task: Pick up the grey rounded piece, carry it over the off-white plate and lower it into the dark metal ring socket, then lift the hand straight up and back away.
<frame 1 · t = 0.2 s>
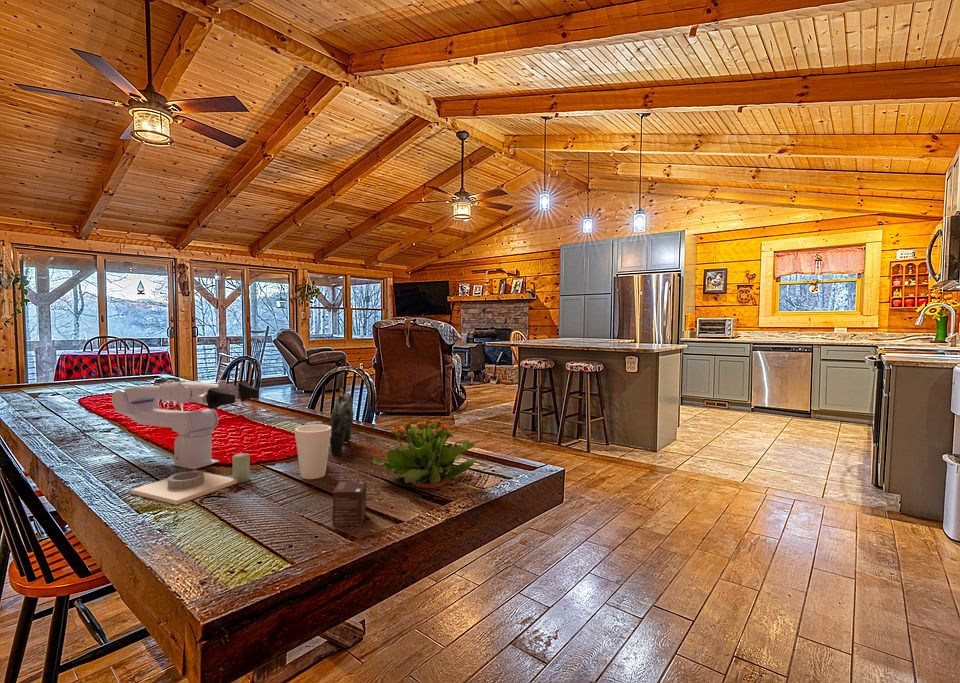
hand: (246, 396, 126), 21 cm above the table, tool horizontal, fingers open, 7 cm apart
grey rounded piece: (241, 480, 122), on the table
energy drink: (313, 463, 138), on the table
socket plate: (186, 488, 115), on the table
foam cup: (312, 475, 127), on the table
box: (349, 521, 99), on the table
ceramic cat: (342, 448, 155), on the table
potted flower: (432, 483, 123), on the table
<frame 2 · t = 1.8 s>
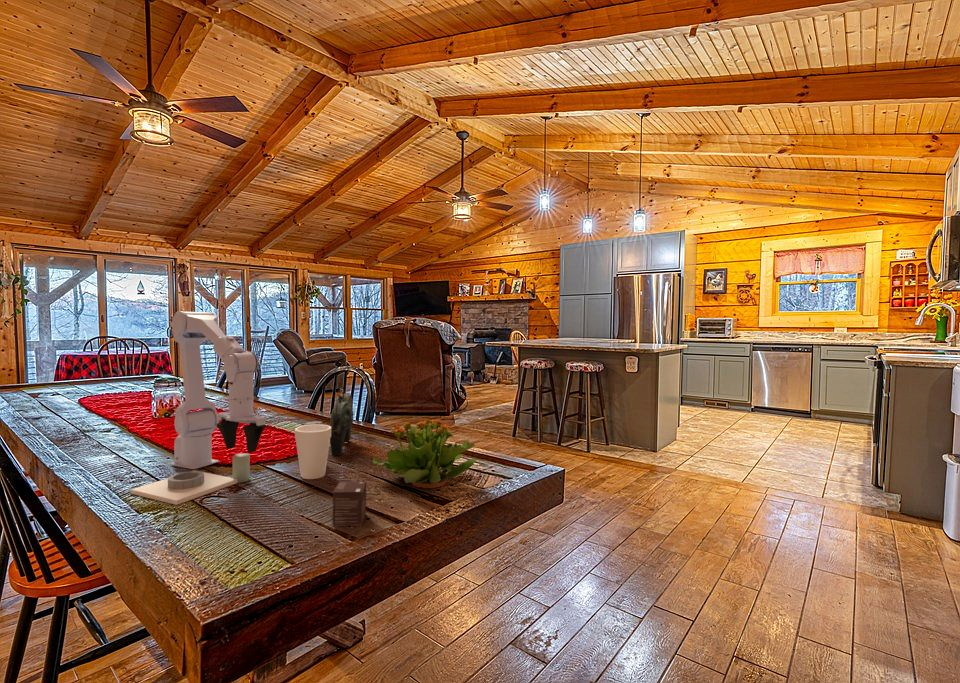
hand: (241, 449, 122), 8 cm above the table, tool pointing down, fingers open, 7 cm apart
nothing on the table moved.
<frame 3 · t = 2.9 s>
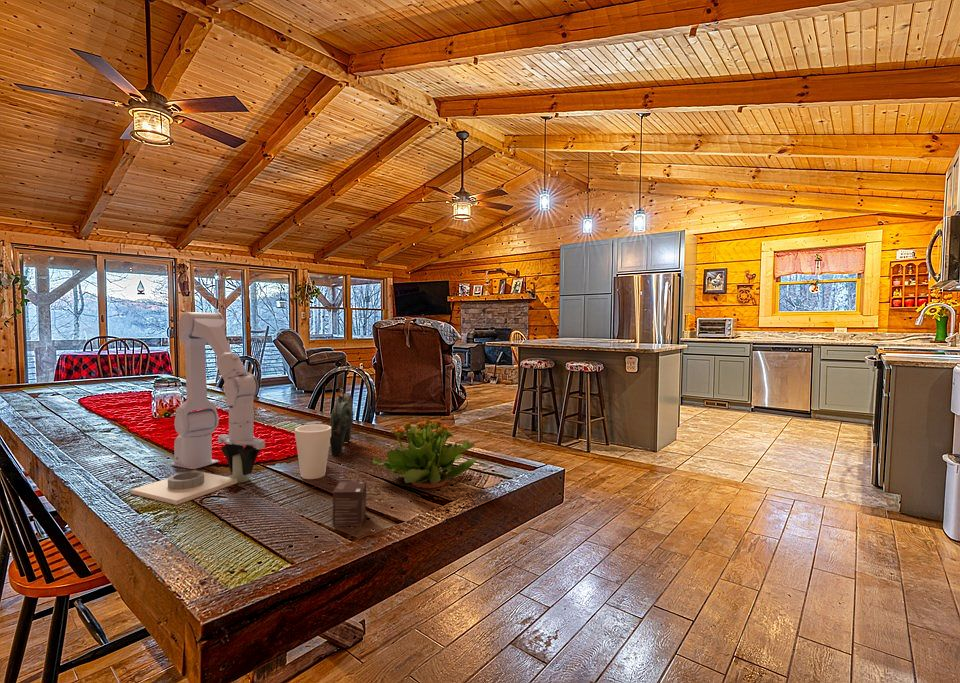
hand: (241, 472, 122), 2 cm above the table, tool pointing down, fingers closed on grey rounded piece, 4 cm apart
grey rounded piece: (241, 479, 122), on the table, touching gripper, socket plate
everything else where it was.
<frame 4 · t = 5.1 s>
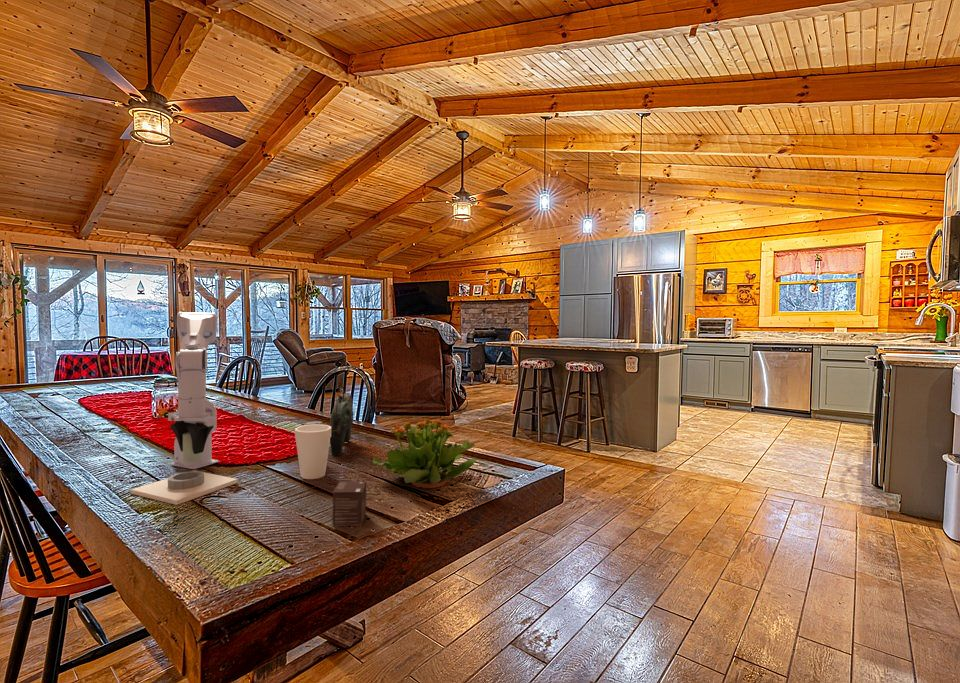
hand: (192, 451, 116), 9 cm above the table, tool pointing down, fingers closed on grey rounded piece, 4 cm apart
grey rounded piece: (192, 459, 116), point 7 cm above the table, touching gripper
everything else where it was.
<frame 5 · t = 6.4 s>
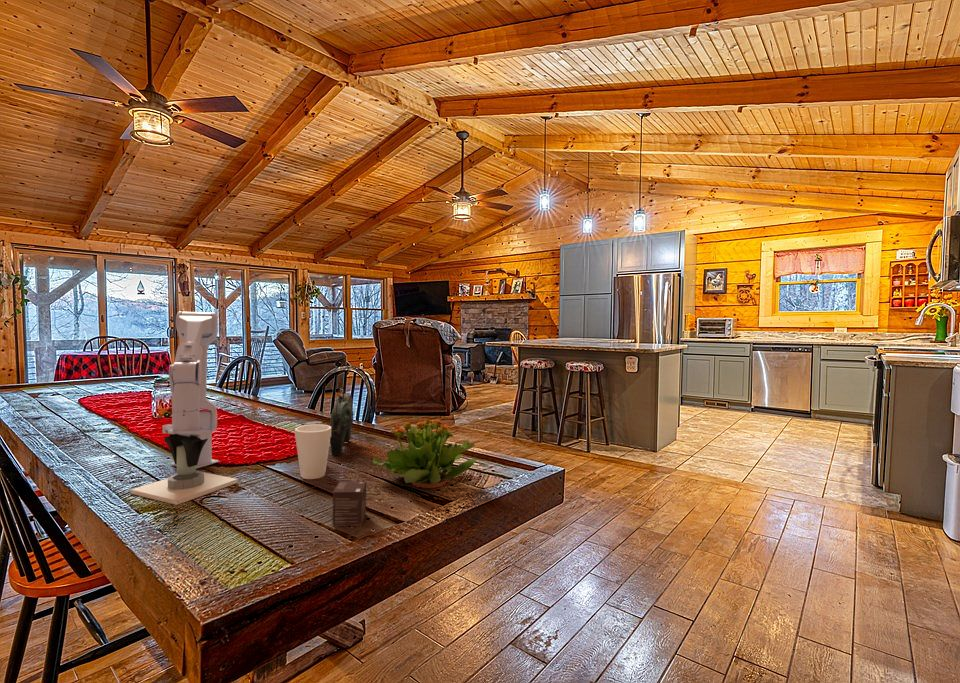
hand: (186, 464, 115), 6 cm above the table, tool pointing down, fingers closed on grey rounded piece, 4 cm apart
grey rounded piece: (186, 472, 115), point 4 cm above the table, touching gripper
everything else where it was.
when the fingers open (4 cm above the table, at t = 7.3 s): grey rounded piece stays where it is, resting on socket plate.
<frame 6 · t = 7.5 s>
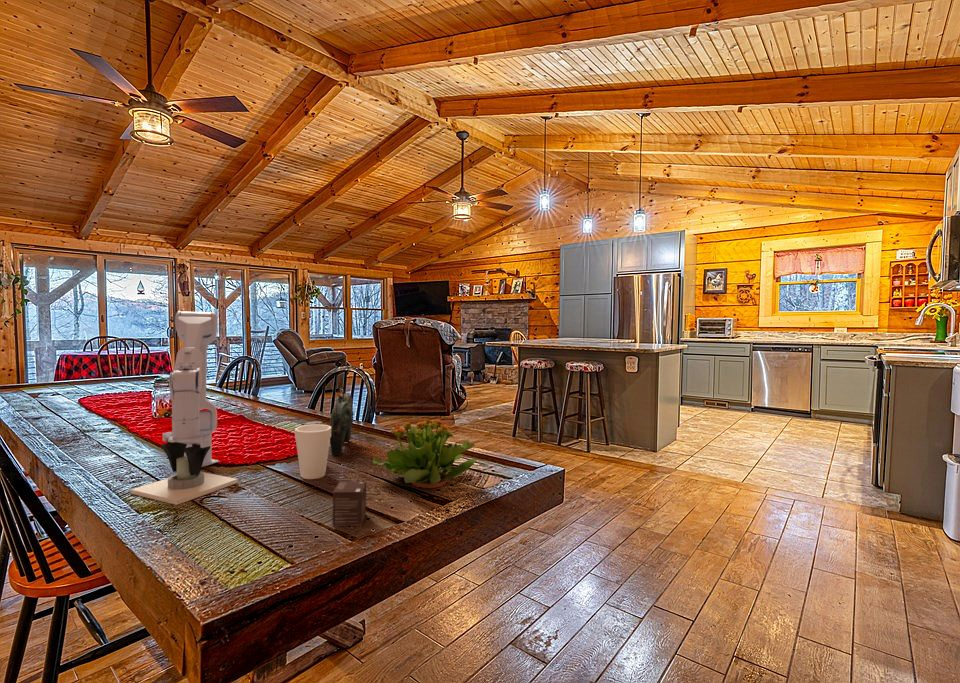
hand: (186, 472, 115), 4 cm above the table, tool pointing down, fingers open, 6 cm apart
grey rounded piece: (186, 483, 115), point 1 cm above the table, touching socket plate
everything else where it was.
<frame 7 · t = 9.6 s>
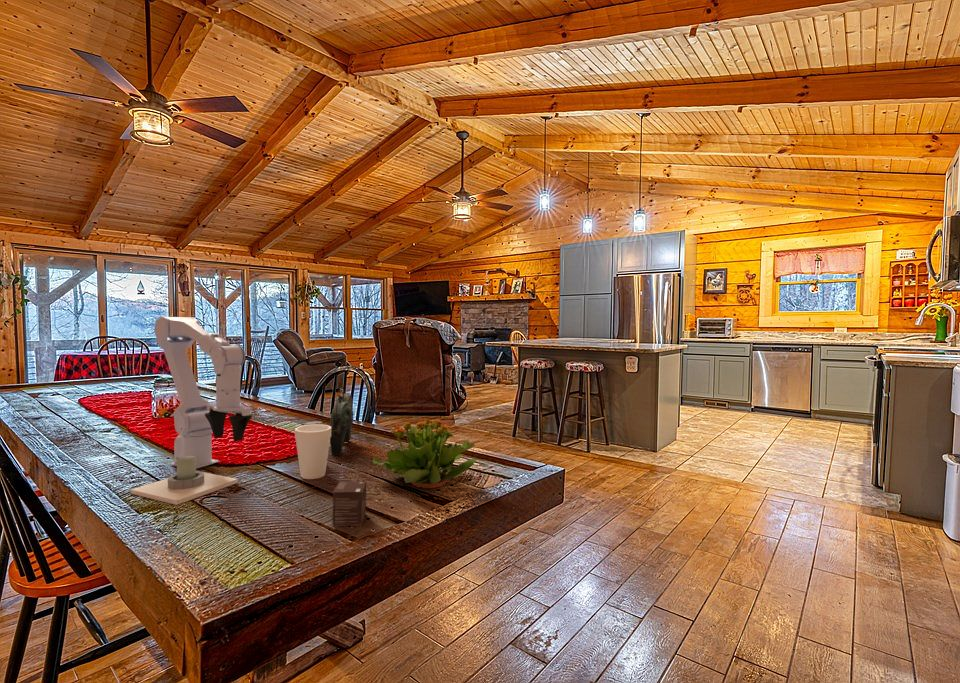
hand: (228, 439, 127), 9 cm above the table, tool pointing down, fingers open, 7 cm apart
nothing on the table moved.
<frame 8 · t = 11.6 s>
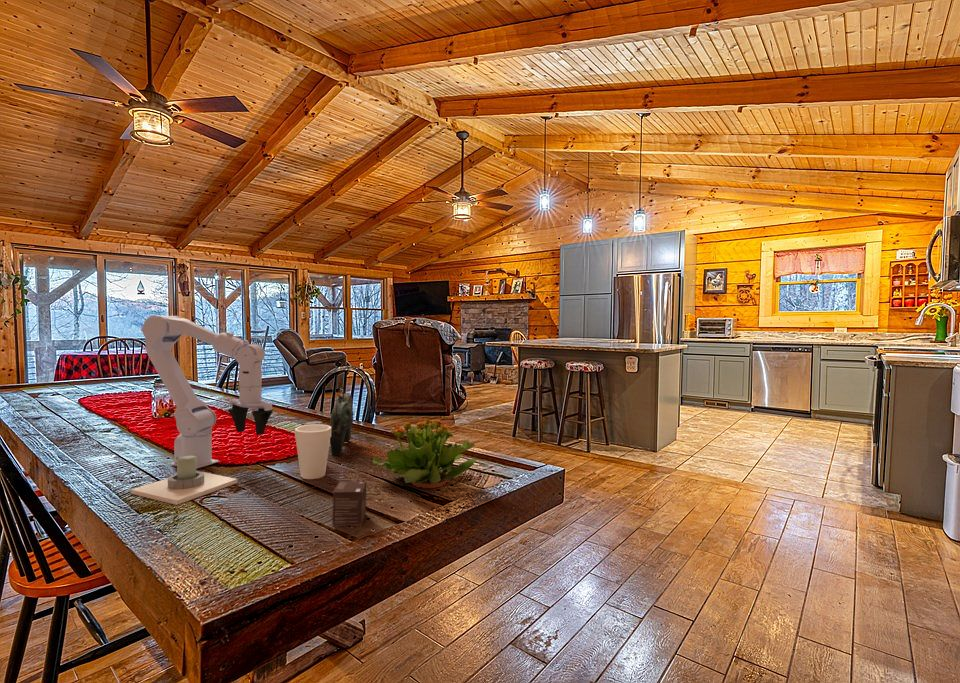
hand: (250, 433, 134), 9 cm above the table, tool pointing down, fingers open, 7 cm apart
nothing on the table moved.
at the end: grey rounded piece 0.0 cm off-centre on the socket plate, point 1.1 cm above the socket plate's base; grey rounded piece tilted 2°; the gripper is holding nothing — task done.
